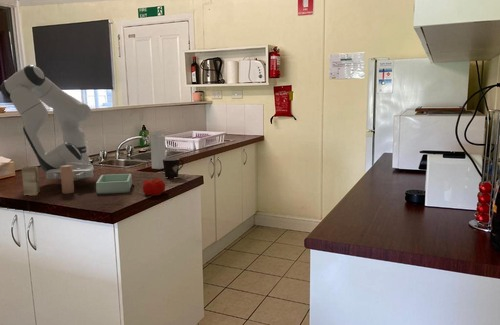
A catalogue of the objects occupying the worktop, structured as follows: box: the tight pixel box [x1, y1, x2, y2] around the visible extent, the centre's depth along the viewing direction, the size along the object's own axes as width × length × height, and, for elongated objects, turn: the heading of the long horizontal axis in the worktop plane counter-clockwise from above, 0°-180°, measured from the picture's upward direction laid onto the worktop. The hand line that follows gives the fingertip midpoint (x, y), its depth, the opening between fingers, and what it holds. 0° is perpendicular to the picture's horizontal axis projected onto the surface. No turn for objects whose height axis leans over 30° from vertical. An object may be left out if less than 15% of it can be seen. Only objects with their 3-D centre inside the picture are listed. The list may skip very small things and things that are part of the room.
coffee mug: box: [163, 157, 184, 178], centre depth 216 cm, size 12×9×10 cm
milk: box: [150, 130, 167, 170], centre depth 243 cm, size 6×6×22 cm
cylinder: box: [60, 165, 75, 195], centre depth 185 cm, size 5×5×12 cm
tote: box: [95, 173, 133, 195], centre depth 193 cm, size 18×14×5 cm
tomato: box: [142, 177, 166, 197], centre depth 182 cm, size 10×11×6 cm
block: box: [21, 165, 41, 197], centre depth 182 cm, size 5×5×12 cm
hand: (66, 176), depth 185 cm, fingers open, 8 cm apart
